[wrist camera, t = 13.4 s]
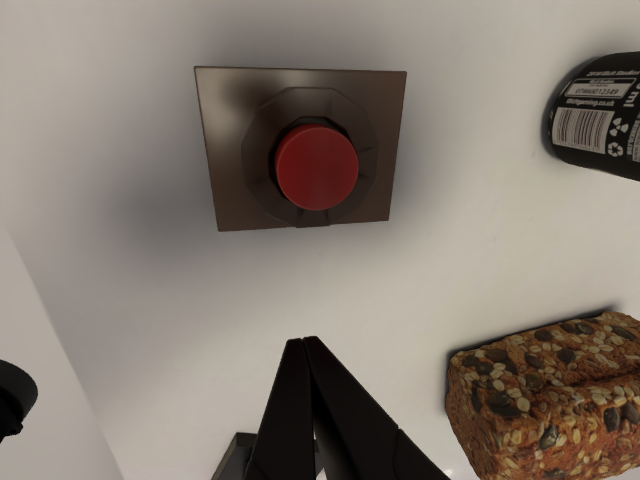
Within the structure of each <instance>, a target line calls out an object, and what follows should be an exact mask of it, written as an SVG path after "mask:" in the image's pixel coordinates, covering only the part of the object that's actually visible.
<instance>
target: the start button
mask: <svg viewBox="0 0 640 480" xmlns="http://www.w3.org/2000/svg"><path fill="white" fill-rule="evenodd" d="M274 165H275V171H276V175H277V179H278V183H279V186H280V188H281V190H282V192H283V193H284V195H285V196H286V197H287V198H288V199H289V200H290V201H291V202H292V203H294V204H295V205H297V206H299V207H301V208H304V209H308V210H324V209H328V208H330V207H333V206H335V205H337V204H338V203H340V202H341V201H343V200H344V199H345V198H346V197H347V196H348V195H349V193H350V192H351V190H352V189H353V187H354V185H355V182H356V180H357V176H358V158H357V154H356V152H355V149H354V148H353V146H352V144H351V143H350V142H349V140H348V139H347V138H346V137H345V136H343V135H342V134H341V133H339V132H337V131H335V130H334V129H332V128H330V127H328V126H326V125H323V124H318V123H307V124H303V125H300V126H297V127H295V128H294V129H292V130H291V131H289V132H288V133H287V134H286V135H285V136H284V137H283V138H282V140H281V141H280V143H279V145H278V147H277V150H276V153H275V159H274Z"/></svg>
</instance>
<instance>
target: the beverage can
mask: <svg viewBox="0 0 640 480" xmlns="http://www.w3.org/2000/svg"><path fill="white" fill-rule="evenodd" d="M548 135H549V139H550V142H551V146H552V149H553V151H554V153H555V154H556V155H557V157H558V158H560V159H561V160H562V161H564V162H566V163H568V164H572V165H576V166H580V167H584V168H588V169H592V170H596V171H600V172H604V173H608V174H612V175H616V176H620V177H624V178H628V179H632V180H636V181H639V182H640V51H637V52H625V53H615V54H610V55H607V56H604V57H602V58H600V59H598V60H596V61H594V62H593V63H591V64H589V65H588V66H587V67H585V68H584V69H583V70H582V71H581V72H580V73H579V74H578V75H576V76H575V77H574V78H573V79H572V80H571V81H570V82H569V83H568V84H567V85H566V86H565V88H564V89H563V90H562V91H561V93H560V94H559V96H558V98H557V99H556V101H555V103H554V106H553V108H552V111H551V114H550V117H549V123H548Z"/></svg>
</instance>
